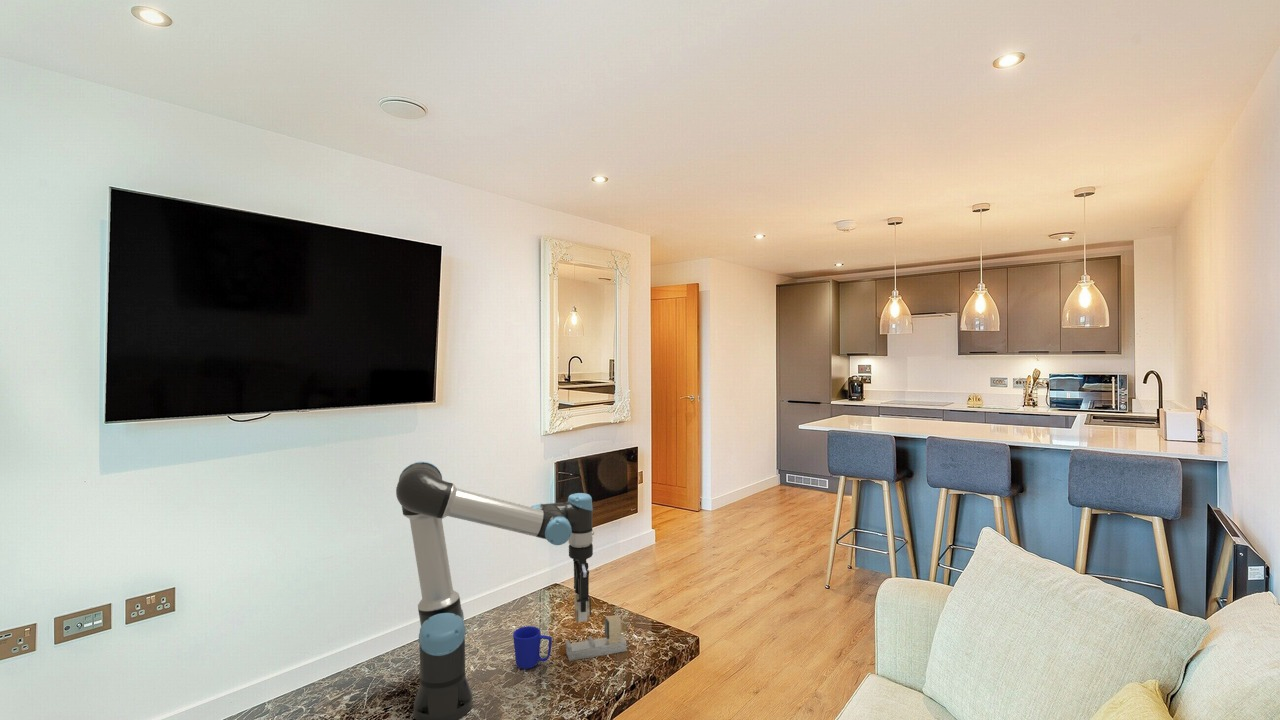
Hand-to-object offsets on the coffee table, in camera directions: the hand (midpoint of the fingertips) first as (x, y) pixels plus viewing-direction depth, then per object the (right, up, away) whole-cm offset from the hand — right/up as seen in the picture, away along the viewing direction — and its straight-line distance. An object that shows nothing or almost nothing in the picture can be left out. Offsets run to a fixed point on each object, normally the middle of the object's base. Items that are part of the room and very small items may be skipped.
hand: (581, 617), depth 184 cm
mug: (-14, -13, -4) cm, 20 cm away
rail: (+5, -12, +3) cm, 14 cm away
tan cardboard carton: (0, 0, 0) cm, 0 cm away
